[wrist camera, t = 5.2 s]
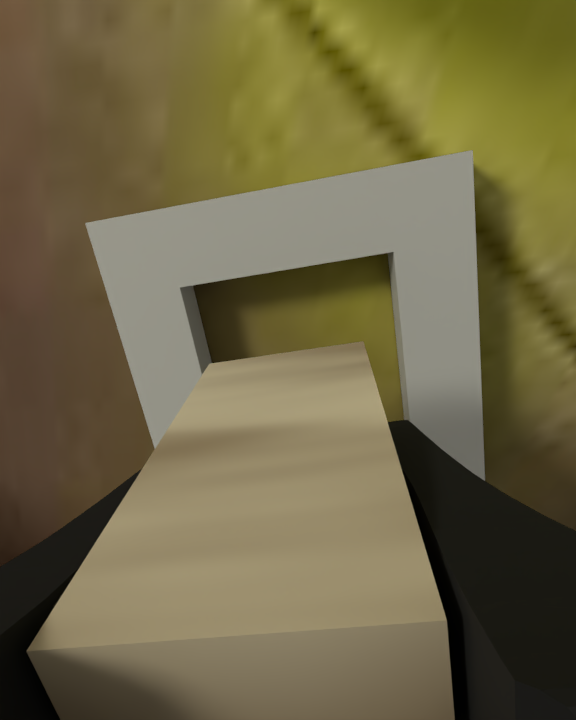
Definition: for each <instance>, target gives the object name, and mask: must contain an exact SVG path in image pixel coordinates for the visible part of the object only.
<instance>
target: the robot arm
mask: <svg viewBox="0 0 576 720" xmlns="http://www.w3.org/2000/svg"><path fill="white" fill-rule="evenodd" d="M388 425H389V429H390V432H391V435H392V439H393V442H394V445H395V449H396V452H397V455H398V459H399V462H400V465H401V469H402V472H403V475H404V479H405V482H406V486H407V489H408V492H409V496H410V499H411V502H412V506H413V509H414V512H415V516H416V519H417V522H418V526H419V529H420V532H421V536H422V539H423V542H424V546H425V549H426V552H427V556H428V559H429V562H430V566H431V569H432V572H433V576H434V579H435V582H436V586H437V589H438V592H439V596H440V599H441V602H442V606H443V609H444V612H445V616H446V619H447V628H448V641H449V653H450V666H451V678H452V691H453V703H454V716H455V720H576V531H575V530H573V529H570V528H568V527H566V526H564V525H562V524H560V523H558V522H556V521H554V520H552V519H550V518H548V517H546V516H544V515H542V514H540V513H538V512H537V511H535V510H533V509H531V508H529V507H528V506H526V505H524V504H522V503H520V502H518V501H517V500H515V499H513V498H511V497H510V496H508V495H506V494H505V493H503V492H501V491H500V490H498V489H496V488H495V487H493V486H492V485H490V484H489V483H487V482H486V481H484V480H483V479H481V478H480V477H478V476H477V475H475V474H474V473H472V472H471V471H469V470H468V469H467V468H465V467H464V466H463V465H462V464H460V463H459V462H458V461H456V460H455V459H454V458H452V457H451V456H450V455H449V454H447V453H446V452H445V451H444V450H442V449H441V448H440V447H439V446H438V445H436V444H435V443H434V442H433V441H432V440H431V439H429V438H428V437H427V436H426V435H425V434H424V433H423V432H421V431H420V430H419V429H418V428H417V427H416V426H415V425H414V424H412V423H411V422H410V421H409V420H401V421H393V422H388ZM142 469H143V468H142ZM142 469H141V470H142ZM141 470H139V471H138V472H137V473H136V474H134V475H133V476H132V477H130V478H129V479H128V480H126V481H125V482H124V483H123V484H121V485H120V486H119V487H117V488H116V489H115V490H113V491H112V492H111V493H110V494H108V495H107V496H106V497H104V498H103V499H102V500H100V501H99V502H98V503H96V504H95V505H93V506H92V507H91V508H89V509H88V510H86V511H85V512H84V513H82V514H81V515H79V516H78V517H77V518H75V519H74V520H72V521H71V522H70V523H68V524H67V525H65V526H64V527H63V528H61V529H60V530H58V531H57V532H55V533H54V534H52V535H51V536H49V537H48V538H46V539H45V540H43V541H42V542H40V543H39V544H37V545H35V546H34V547H32V548H31V549H29V550H27V551H26V552H24V553H22V554H21V555H19V556H17V557H16V558H14V559H13V560H11V561H9V562H8V563H6V564H4V565H3V566H1V567H0V720H60V718H59V716H58V714H57V712H56V710H55V708H54V706H53V704H52V702H51V700H50V698H49V696H48V694H47V692H46V690H45V688H44V686H43V684H42V682H41V680H40V678H39V676H38V674H37V672H36V670H35V668H34V666H33V664H32V662H31V660H30V658H29V656H28V654H27V652H26V651H27V649H28V648H29V646H30V645H31V643H32V642H33V640H34V638H35V637H36V635H37V634H38V632H39V631H40V629H41V627H42V626H43V624H44V623H45V621H46V620H47V618H48V616H49V615H50V613H51V612H52V610H53V609H54V607H55V605H56V604H57V602H58V601H59V599H60V598H61V596H62V594H63V593H64V591H65V590H66V588H67V587H68V585H69V583H70V582H71V580H72V579H73V577H74V576H75V574H76V572H77V571H78V569H79V568H80V566H81V565H82V563H83V561H84V560H85V558H86V557H87V555H88V554H89V552H90V550H91V549H92V547H93V546H94V544H95V543H96V541H97V539H98V538H99V536H100V535H101V533H102V532H103V530H104V528H105V527H106V525H107V524H108V522H109V521H110V519H111V517H112V516H113V514H114V513H115V511H116V510H117V508H118V506H119V505H120V503H121V502H122V500H123V499H124V497H125V495H126V494H127V492H128V491H129V489H130V488H131V486H132V484H133V483H134V481H135V480H136V478H137V477H138V475H139V473H140V472H141Z"/></svg>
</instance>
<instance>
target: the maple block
mask: <svg viewBox="0 0 576 720" xmlns="http://www.w3.org/2000/svg"><path fill="white" fill-rule="evenodd" d="M26 652H27V654H28V656H29V658H30V660H31V662H32V664H33V666H34V668H35V670H36V672H37V674H38V676H39V678H40V680H41V682H42V684H43V686H44V688H45V690H46V692H47V694H48V696H49V698H50V700H51V702H52V704H53V706H54V708H55V710H56V712H57V714H58V716H59V718H60V720H455V716H454V703H453V691H452V678H451V666H450V653H449V641H448V628H447V619H446V616H445V612H444V609H443V606H442V602H441V599H440V596H439V592H438V589H437V586H436V582H435V579H434V576H433V572H432V569H431V566H430V562H429V559H428V556H427V552H426V549H425V546H424V542H423V539H422V536H421V532H420V529H419V526H418V522H417V519H416V516H415V512H414V509H413V506H412V502H411V499H410V496H409V492H408V489H407V486H406V482H405V479H404V475H403V472H402V469H401V465H400V462H399V459H398V455H397V452H396V449H395V445H394V442H393V439H392V435H391V432H390V429H389V425H388V422H387V419H386V415H385V412H384V409H383V405H382V402H381V399H380V395H379V392H378V389H377V385H376V382H375V379H374V375H373V372H372V369H371V365H370V362H369V359H368V355H367V352H366V349H365V345H364V342H356V343H349V344H342V345H335V346H328V347H321V348H314V349H308V350H301V351H294V352H287V353H280V354H273V355H266V356H259V357H253V358H246V359H239V360H232V361H225V362H218V363H211V364H209V365H208V367H207V368H206V370H205V371H204V373H203V374H202V376H201V378H200V379H199V381H198V382H197V384H196V385H195V387H194V389H193V390H192V392H191V393H190V395H189V396H188V398H187V400H186V401H185V403H184V404H183V406H182V407H181V409H180V411H179V412H178V414H177V415H176V417H175V418H174V420H173V422H172V423H171V425H170V426H169V428H168V429H167V431H166V433H165V434H164V436H163V437H162V439H161V440H160V442H159V444H158V445H157V447H156V448H155V450H154V451H153V453H152V455H151V456H150V458H149V459H148V461H147V462H146V464H145V466H144V467H143V469H142V470H141V472H140V473H139V475H138V477H137V478H136V480H135V481H134V483H133V484H132V486H131V488H130V489H129V491H128V492H127V494H126V495H125V497H124V499H123V500H122V502H121V503H120V505H119V506H118V508H117V510H116V511H115V513H114V514H113V516H112V517H111V519H110V521H109V522H108V524H107V525H106V527H105V528H104V530H103V532H102V533H101V535H100V536H99V538H98V539H97V541H96V543H95V544H94V546H93V547H92V549H91V550H90V552H89V554H88V555H87V557H86V558H85V560H84V561H83V563H82V565H81V566H80V568H79V569H78V571H77V572H76V574H75V576H74V577H73V579H72V580H71V582H70V583H69V585H68V587H67V588H66V590H65V591H64V593H63V594H62V596H61V598H60V599H59V601H58V602H57V604H56V605H55V607H54V609H53V610H52V612H51V613H50V615H49V616H48V618H47V620H46V621H45V623H44V624H43V626H42V627H41V629H40V631H39V632H38V634H37V635H36V637H35V638H34V640H33V642H32V643H31V645H30V646H29V648H28V649H27V651H26Z"/></svg>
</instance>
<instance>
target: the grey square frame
mask: <svg viewBox="0 0 576 720" xmlns="http://www.w3.org/2000/svg"><path fill="white" fill-rule="evenodd" d="M85 224H86V227H87V230H88V234H89V237H90V240H91V243H92V247H93V250H94V253H95V256H96V260H97V263H98V266H99V269H100V273H101V276H102V279H103V282H104V286H105V289H106V292H107V295H108V299H109V302H110V305H111V308H112V311H113V315H114V318H115V321H116V324H117V328H118V331H119V334H120V337H121V341H122V344H123V347H124V350H125V354H126V357H127V360H128V363H129V367H130V370H131V373H132V376H133V380H134V383H135V386H136V389H137V392H138V396H139V399H140V402H141V405H142V409H143V412H144V415H145V418H146V422H147V425H148V428H149V431H150V435H151V438H152V441H153V444H154V448H156V447H157V445H158V444H159V442H160V440H161V439H162V437H163V436H164V434H165V433H166V431H167V429H168V428H169V426H170V425H171V423H172V422H173V420H174V418H175V417H176V415H177V414H178V412H179V411H180V409H181V407H182V406H183V404H184V403H185V401H186V400H187V398H188V396H189V395H190V393H191V392H192V390H193V389H194V387H195V385H196V384H197V382H198V381H199V379H200V378H201V376H202V374H203V373H204V371H205V370H206V368H207V367H208V365H209V364H211V363H212V362H211V357H210V353H209V349H208V345H207V341H206V337H205V333H204V329H203V325H202V321H201V317H200V312H199V308H198V304H197V300H196V296H195V292H194V288H193V285H198V284H204V283H210V282H216V281H222V280H228V279H234V278H240V277H246V276H252V275H258V274H264V273H270V272H276V271H282V270H288V269H294V268H300V267H306V266H312V265H318V264H324V263H330V262H336V261H342V260H348V259H354V258H360V257H366V256H372V255H378V254H384V253H388V262H389V272H390V282H391V292H392V302H393V312H394V322H395V332H396V342H397V352H398V362H399V372H400V382H401V392H402V402H403V412H404V420H409V421H410V422H411V423H412V424H414V425H415V426H416V427H417V428H418V429H419V430H420V431H421V432H423V433H424V434H425V435H426V436H427V437H428V438H429V439H431V440H432V441H433V442H434V443H435V444H436V445H438V446H439V447H440V448H441V449H442V450H444V451H445V452H446V453H447V454H449V455H450V456H451V457H452V458H454V459H455V460H456V461H458V462H459V463H460V464H462V465H463V466H464V467H465V468H467V469H468V470H469V471H471V472H472V473H474V474H475V475H477V476H478V477H480V478H481V479H483V480H484V481H485V466H484V440H483V413H482V386H481V360H480V333H479V306H478V279H477V253H476V226H475V199H474V172H473V150H471V151H466V152H461V153H455V154H450V155H445V156H439V157H434V158H429V159H423V160H418V161H413V162H407V163H402V164H397V165H392V166H386V167H381V168H376V169H370V170H365V171H360V172H354V173H349V174H344V175H338V176H333V177H328V178H322V179H317V180H312V181H307V182H301V183H296V184H291V185H285V186H280V187H275V188H269V189H264V190H259V191H253V192H248V193H243V194H238V195H232V196H227V197H222V198H216V199H211V200H206V201H200V202H195V203H190V204H184V205H179V206H174V207H169V208H163V209H158V210H153V211H147V212H142V213H137V214H131V215H126V216H121V217H115V218H110V219H105V220H100V221H94V222H89V223H85Z"/></svg>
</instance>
